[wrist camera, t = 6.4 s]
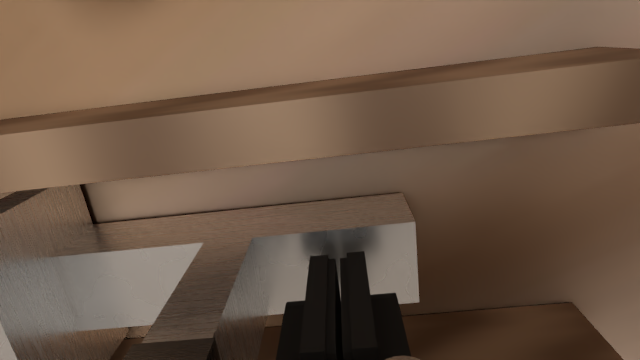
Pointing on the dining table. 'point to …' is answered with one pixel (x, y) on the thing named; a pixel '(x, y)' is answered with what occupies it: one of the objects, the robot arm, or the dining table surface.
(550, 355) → the guide
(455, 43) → the dining table surface
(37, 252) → the grey angular piece
